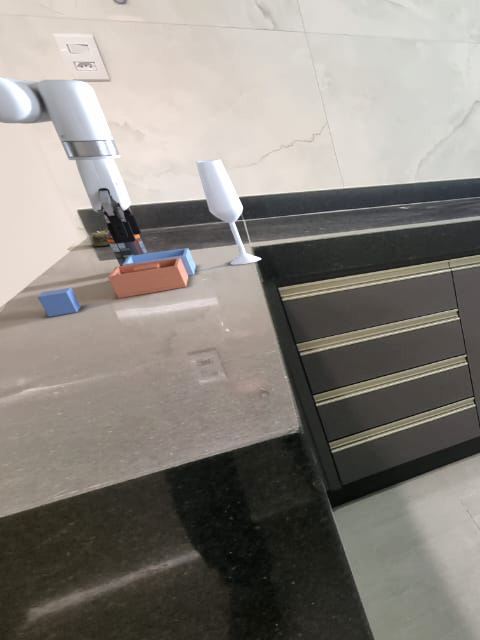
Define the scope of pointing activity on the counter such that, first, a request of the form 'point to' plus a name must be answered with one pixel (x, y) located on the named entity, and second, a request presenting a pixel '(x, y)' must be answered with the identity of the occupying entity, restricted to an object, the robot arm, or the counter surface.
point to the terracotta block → (146, 267)
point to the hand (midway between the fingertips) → (128, 238)
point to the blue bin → (164, 255)
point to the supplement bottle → (126, 248)
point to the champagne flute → (223, 201)
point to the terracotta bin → (148, 278)
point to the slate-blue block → (59, 302)
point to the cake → (101, 238)
